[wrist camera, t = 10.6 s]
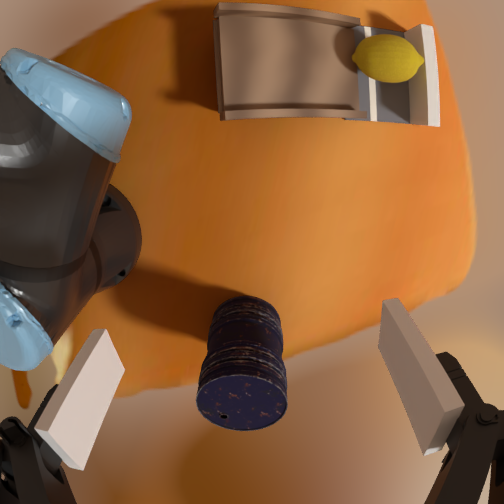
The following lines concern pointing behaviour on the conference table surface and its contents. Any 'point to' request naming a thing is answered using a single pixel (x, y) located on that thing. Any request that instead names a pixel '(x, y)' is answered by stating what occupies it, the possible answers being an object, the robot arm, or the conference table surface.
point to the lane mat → (383, 89)
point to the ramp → (284, 62)
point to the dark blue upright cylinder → (243, 367)
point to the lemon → (387, 58)
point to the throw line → (371, 86)
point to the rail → (424, 78)
